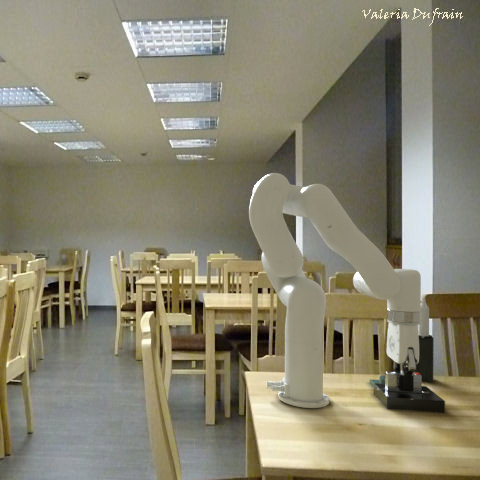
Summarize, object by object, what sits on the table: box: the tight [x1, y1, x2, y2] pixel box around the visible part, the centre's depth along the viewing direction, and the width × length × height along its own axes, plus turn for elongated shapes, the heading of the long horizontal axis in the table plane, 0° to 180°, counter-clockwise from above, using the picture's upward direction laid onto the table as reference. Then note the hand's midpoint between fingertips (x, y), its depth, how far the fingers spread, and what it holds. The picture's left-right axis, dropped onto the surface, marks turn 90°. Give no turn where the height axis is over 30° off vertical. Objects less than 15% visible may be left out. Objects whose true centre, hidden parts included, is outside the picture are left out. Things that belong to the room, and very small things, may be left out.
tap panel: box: [373, 383, 446, 414], centre depth 113 cm, size 14×12×3 cm
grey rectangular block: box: [384, 371, 423, 393], centre depth 113 cm, size 8×2×5 cm, turn 80°
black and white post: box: [414, 296, 435, 384], centre depth 133 cm, size 5×5×25 cm
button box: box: [369, 374, 385, 388], centre depth 124 cm, size 10×8×3 cm
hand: (403, 387), depth 113 cm, fingers open, 3 cm apart
